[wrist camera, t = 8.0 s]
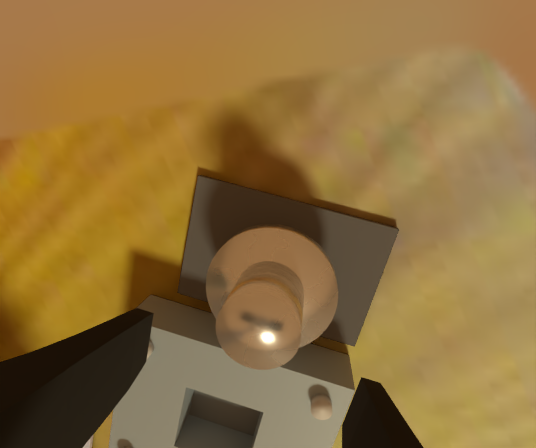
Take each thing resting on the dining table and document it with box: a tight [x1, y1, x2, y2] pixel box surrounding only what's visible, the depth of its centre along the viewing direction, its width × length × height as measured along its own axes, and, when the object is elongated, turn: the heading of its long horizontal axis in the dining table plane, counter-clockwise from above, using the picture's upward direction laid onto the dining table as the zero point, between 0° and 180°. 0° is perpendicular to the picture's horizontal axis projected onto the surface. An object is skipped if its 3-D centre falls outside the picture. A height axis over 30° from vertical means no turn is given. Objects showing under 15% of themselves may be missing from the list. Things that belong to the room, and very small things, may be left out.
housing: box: [109, 295, 355, 448], centre depth 20 cm, size 14×12×4 cm
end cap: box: [206, 224, 338, 370], centre depth 16 cm, size 7×7×6 cm
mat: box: [178, 175, 399, 346], centre depth 19 cm, size 12×8×1 cm, turn 77°
